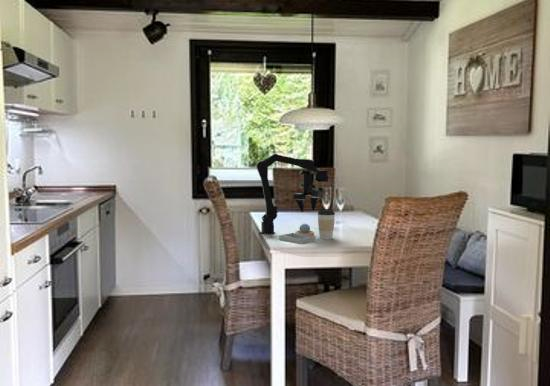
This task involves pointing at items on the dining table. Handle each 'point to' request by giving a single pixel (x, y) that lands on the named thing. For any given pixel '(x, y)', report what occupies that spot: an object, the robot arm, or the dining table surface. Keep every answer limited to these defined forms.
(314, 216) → the dining table surface
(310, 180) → the robot arm
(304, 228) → the ball
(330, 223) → the coffee cup
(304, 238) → the shallow serving tray
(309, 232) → the bowl
